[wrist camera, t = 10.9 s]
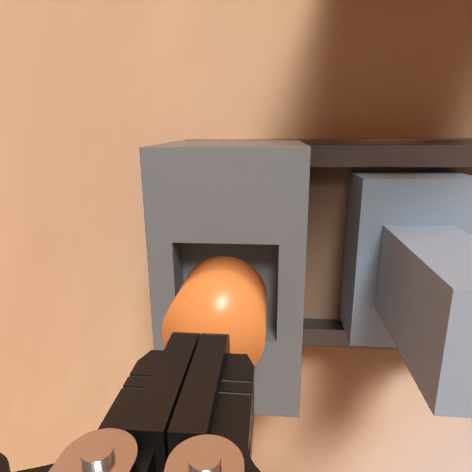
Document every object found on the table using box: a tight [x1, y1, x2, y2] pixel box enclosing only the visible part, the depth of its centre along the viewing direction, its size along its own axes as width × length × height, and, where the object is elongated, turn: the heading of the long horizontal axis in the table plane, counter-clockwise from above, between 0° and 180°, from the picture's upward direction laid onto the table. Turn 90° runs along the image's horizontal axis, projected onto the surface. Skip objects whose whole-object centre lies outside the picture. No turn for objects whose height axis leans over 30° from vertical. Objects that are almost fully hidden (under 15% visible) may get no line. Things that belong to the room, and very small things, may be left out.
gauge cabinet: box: [139, 140, 311, 417], centre depth 18 cm, size 6×11×6 cm, turn 0°
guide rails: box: [302, 144, 472, 349], centre depth 20 cm, size 18×11×1 cm, turn 90°
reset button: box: [162, 256, 267, 367], centre depth 13 cm, size 3×3×3 cm
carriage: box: [340, 171, 472, 418], centre depth 15 cm, size 5×8×10 cm, turn 0°
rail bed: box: [184, 139, 472, 320], centre depth 20 cm, size 25×11×4 cm, turn 90°
